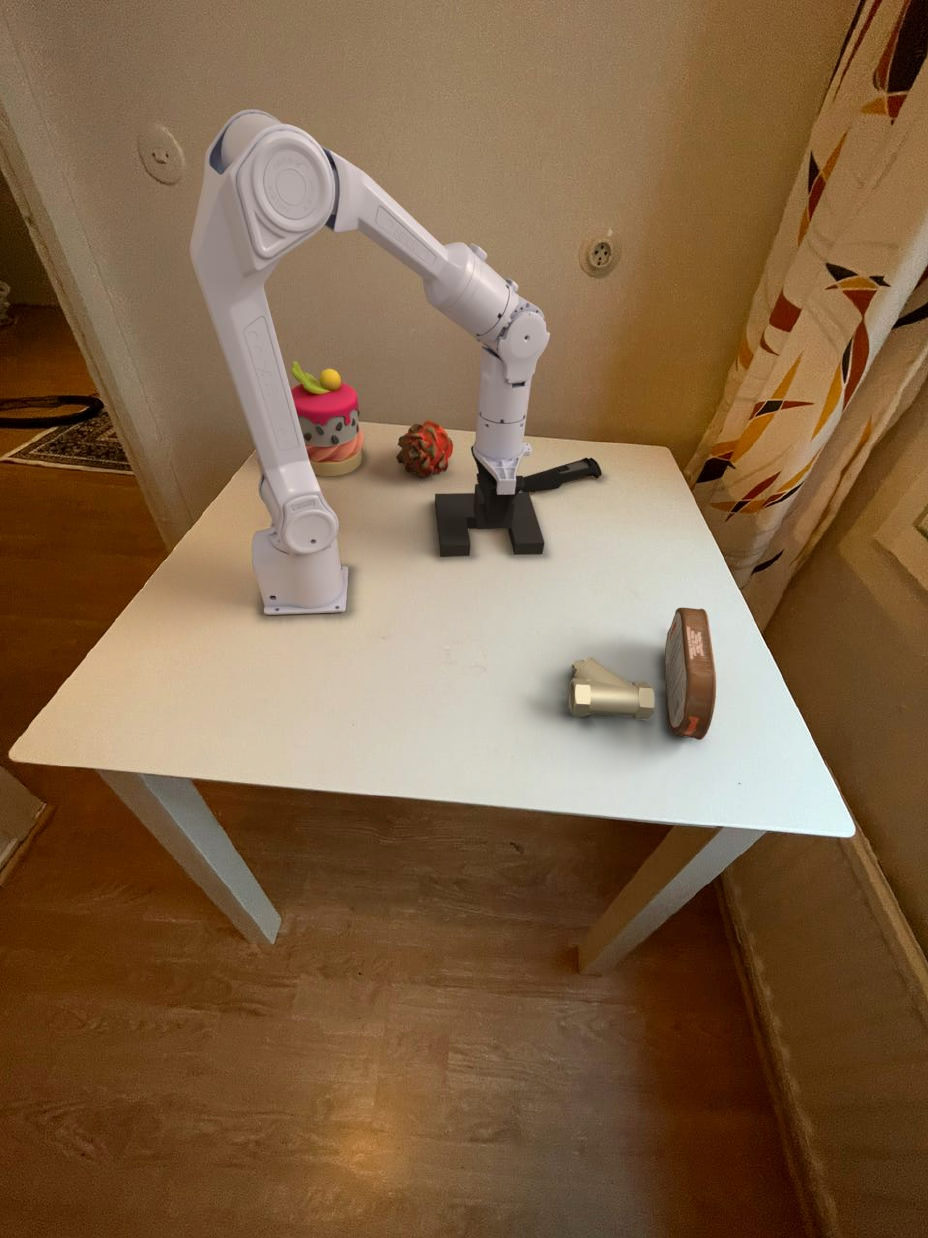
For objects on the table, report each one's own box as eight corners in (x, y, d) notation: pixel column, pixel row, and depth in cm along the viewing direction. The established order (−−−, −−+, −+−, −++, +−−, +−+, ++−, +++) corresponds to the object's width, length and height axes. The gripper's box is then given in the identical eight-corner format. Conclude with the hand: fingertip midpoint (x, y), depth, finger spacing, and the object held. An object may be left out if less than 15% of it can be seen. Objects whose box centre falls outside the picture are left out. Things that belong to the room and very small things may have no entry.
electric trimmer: (508, 490, 87) (510, 472, 85) (588, 467, 92) (592, 450, 90) (521, 503, 85) (523, 485, 83) (602, 479, 90) (607, 461, 88)
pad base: (440, 556, 75) (440, 545, 73) (434, 504, 83) (435, 493, 82) (542, 554, 76) (544, 542, 75) (527, 503, 85) (529, 492, 83)
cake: (351, 438, 95) (342, 347, 85) (373, 469, 89) (365, 374, 78) (290, 450, 92) (272, 356, 81) (308, 483, 85) (291, 386, 75)
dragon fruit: (416, 501, 86) (423, 470, 96) (462, 472, 83) (465, 443, 93) (382, 456, 82) (393, 428, 91) (429, 424, 79) (435, 399, 88)
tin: (695, 756, 56) (727, 707, 50) (663, 750, 56) (691, 700, 50) (684, 645, 66) (710, 593, 60) (657, 640, 66) (680, 588, 60)
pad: (477, 529, 73) (479, 504, 70) (473, 509, 76) (475, 483, 73) (511, 528, 74) (515, 503, 71) (506, 508, 77) (509, 483, 74)
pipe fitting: (563, 673, 63) (570, 721, 58) (569, 648, 60) (577, 697, 55) (634, 677, 63) (647, 726, 58) (643, 653, 60) (657, 701, 55)
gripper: (548, 443, 60) (531, 544, 69) (525, 384, 69) (513, 479, 79) (483, 444, 59) (475, 545, 69) (469, 384, 69) (464, 480, 79)
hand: (492, 510), depth 74 cm, fingers closed on pad, 4 cm apart
